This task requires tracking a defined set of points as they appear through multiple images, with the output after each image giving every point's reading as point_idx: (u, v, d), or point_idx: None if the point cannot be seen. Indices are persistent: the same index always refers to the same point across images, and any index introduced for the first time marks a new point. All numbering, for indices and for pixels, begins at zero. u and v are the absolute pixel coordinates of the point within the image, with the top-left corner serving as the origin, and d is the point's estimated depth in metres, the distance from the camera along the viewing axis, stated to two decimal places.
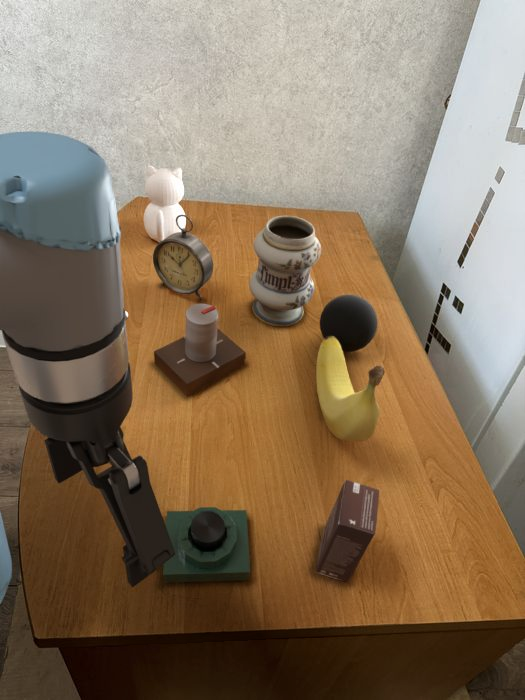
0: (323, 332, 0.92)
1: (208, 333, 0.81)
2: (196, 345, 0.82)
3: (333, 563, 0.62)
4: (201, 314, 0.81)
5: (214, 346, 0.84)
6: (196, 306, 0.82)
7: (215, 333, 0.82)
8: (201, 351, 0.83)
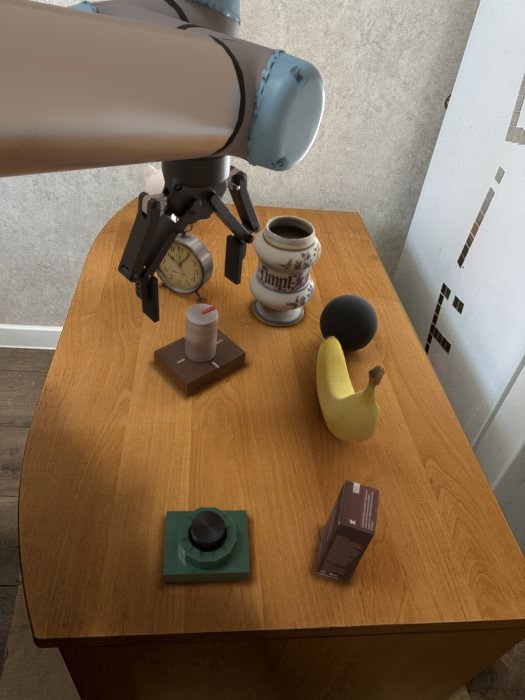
0: (323, 332, 0.92)
1: (208, 333, 0.81)
2: (196, 345, 0.82)
3: (333, 563, 0.62)
4: (201, 314, 0.81)
5: (214, 346, 0.84)
6: (196, 306, 0.82)
7: (215, 333, 0.82)
8: (201, 351, 0.83)
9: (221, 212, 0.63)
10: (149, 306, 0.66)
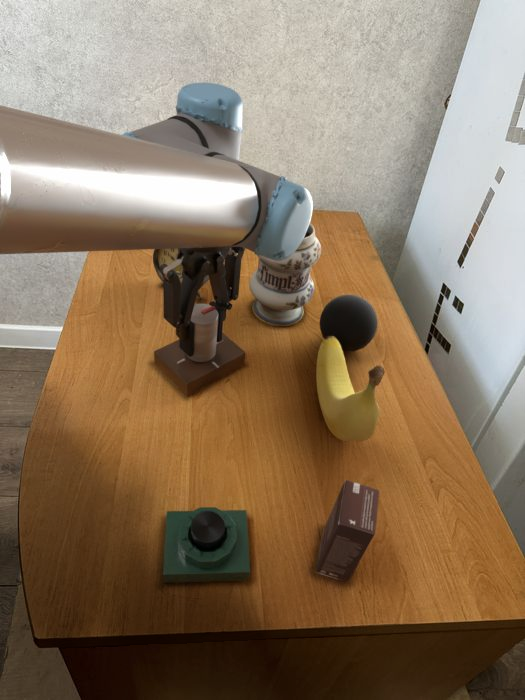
0: (323, 332, 0.92)
1: (208, 333, 0.81)
2: (196, 345, 0.82)
3: (333, 563, 0.62)
4: (201, 314, 0.81)
5: (214, 346, 0.84)
6: (196, 306, 0.82)
7: (215, 333, 0.82)
8: (201, 351, 0.83)
9: (219, 272, 0.76)
10: (185, 344, 0.82)
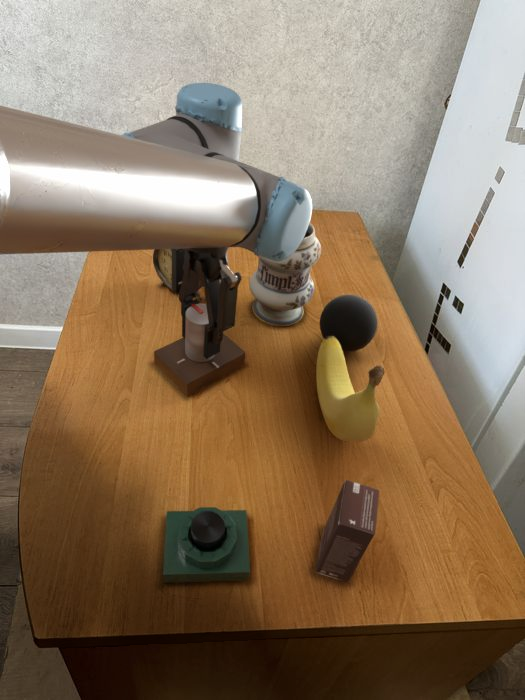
0: (323, 332, 0.92)
1: None
2: None
3: (333, 563, 0.62)
4: (203, 314, 0.81)
5: None
6: (190, 316, 0.80)
7: None
8: None
9: None
10: (215, 345, 0.82)
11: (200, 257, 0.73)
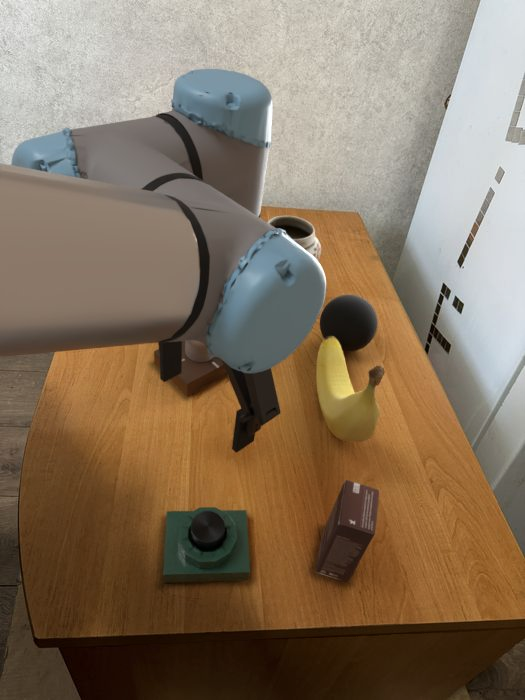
0: (323, 332, 0.92)
1: None
2: None
3: (333, 563, 0.62)
4: None
5: None
6: None
7: None
8: None
9: None
10: None
11: None
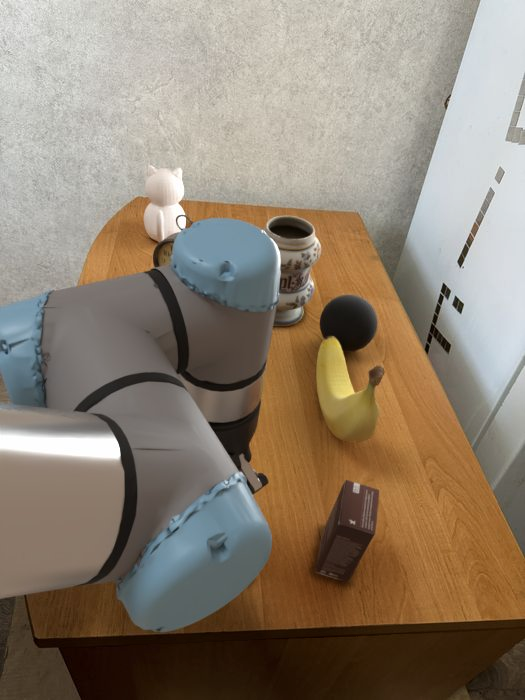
0: (323, 332, 0.92)
1: None
2: None
3: (333, 563, 0.62)
4: None
5: None
6: None
7: None
8: None
9: None
10: None
11: None
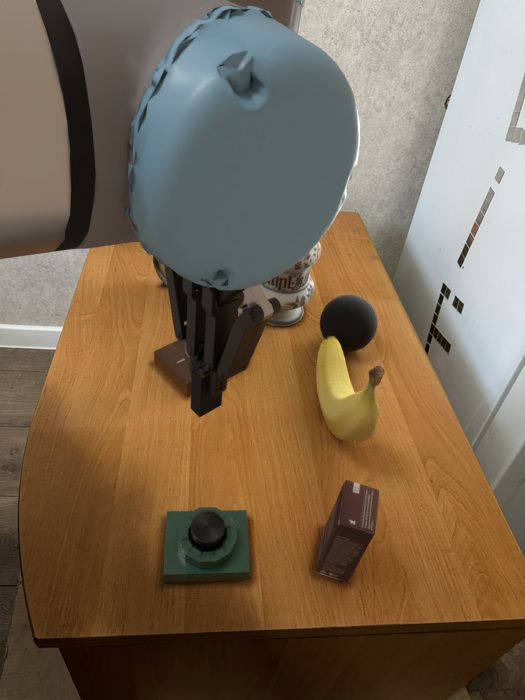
0: (323, 332, 0.92)
1: None
2: None
3: (333, 563, 0.62)
4: None
5: None
6: None
7: None
8: None
9: None
10: (213, 396, 0.51)
11: None
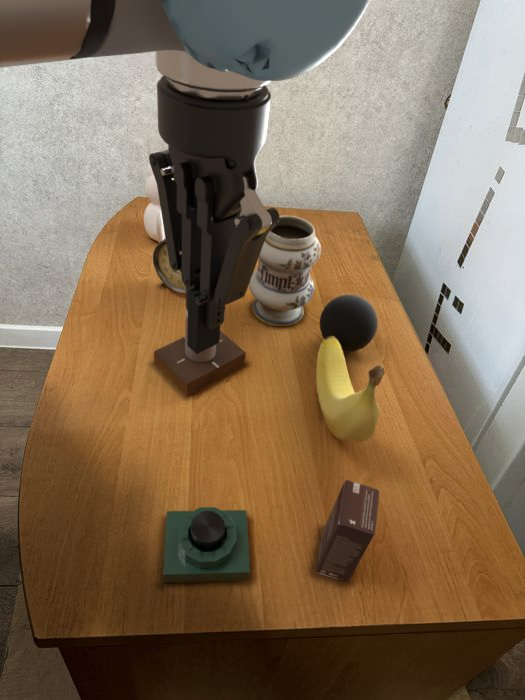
0: (323, 332, 0.92)
1: None
2: None
3: (333, 563, 0.62)
4: None
5: None
6: None
7: None
8: None
9: None
10: (211, 331, 0.49)
11: (204, 174, 0.38)
